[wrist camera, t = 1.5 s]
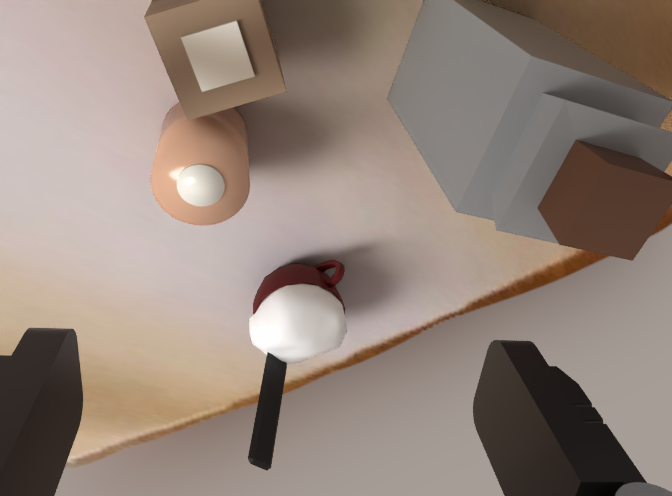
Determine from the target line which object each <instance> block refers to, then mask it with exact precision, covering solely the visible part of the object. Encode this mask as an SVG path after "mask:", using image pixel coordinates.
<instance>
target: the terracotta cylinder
mask: <svg viewBox="0 0 672 496" xmlns="http://www.w3.org/2000/svg"><path fill="white" fill-rule="evenodd" d="M151 188H152V192H153V195H154V197H155V199H156V201H157V202H158V204H159V205H160V206H161V208H162V209H163V210H164V211H165V212H167V213H168V214H169V215H171V216H172V217H174V218H176V219H177V220H180V221H182V222H185V223H188V224H193V225H212V224H217V223H220V222H223V221H225V220H227V219H229V218H231V217H232V216H234V215H235V214H236V213H237V212H238V211H239V210H240V209H241V208H242V207H243V205H244V204H245V202H246V200H247V197H248V194H249V189H250V178H249V159H248V139H247V129H246V126H245V123H244V121H243V119H242V117H241V115H240V114H239V113H238V112H237V110H236V109H235V108H233V107H232V108H229V109H225V110H222V111H219V112H215V113H212V114H208V115H205V116H202V117H198V118H195V119H191V120H188V121H187V118H186V116H185V113H184V111H183V109H182V106H181V104H180V102H178V103H177V104H176V105H174V106H173V107H172V108H171V109H170V110H169V112H168V113H167V115H166V117H165V119H164V121H163V125H162V129H161V134H160V138H159V142H158V147H157V151H156V155H155V160H154V164H153V168H152V173H151Z"/></svg>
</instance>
